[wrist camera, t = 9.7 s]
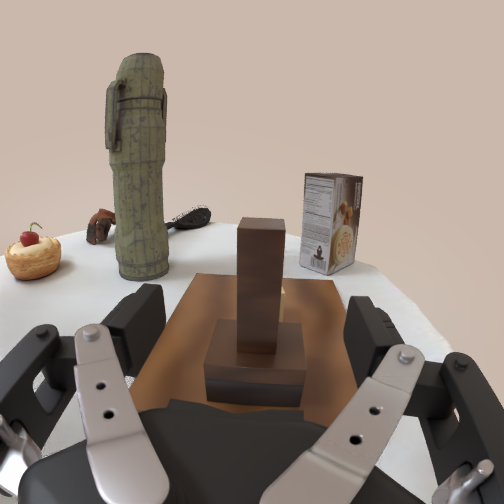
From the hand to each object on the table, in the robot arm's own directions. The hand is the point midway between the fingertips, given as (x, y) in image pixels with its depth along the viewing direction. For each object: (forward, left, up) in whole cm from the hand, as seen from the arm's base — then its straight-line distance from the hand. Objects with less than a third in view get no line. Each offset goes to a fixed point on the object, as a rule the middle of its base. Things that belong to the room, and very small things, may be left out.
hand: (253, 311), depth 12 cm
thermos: (-20, +31, -13) cm, 39 cm away
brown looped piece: (-37, +46, -13) cm, 61 cm away
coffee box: (+11, +38, -13) cm, 42 cm away
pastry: (-42, +26, -13) cm, 51 cm away
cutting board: (0, +15, -13) cm, 20 cm away
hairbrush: (-22, +57, -13) cm, 63 cm away
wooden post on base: (0, +7, -11) cm, 13 cm away
